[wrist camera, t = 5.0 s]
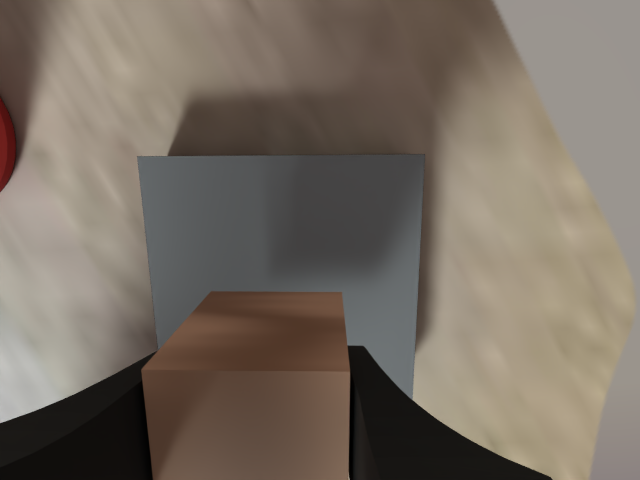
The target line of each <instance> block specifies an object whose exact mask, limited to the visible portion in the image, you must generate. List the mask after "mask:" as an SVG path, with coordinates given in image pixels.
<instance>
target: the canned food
mask: <svg viewBox="0 0 640 480" xmlns="http://www.w3.org/2000/svg"><path fill="white" fill-rule="evenodd" d="M15 156H16V140H15V134H14V127H13V124H12V121H11V118H10V115H9V112H8V111H7V109H6V107H5V105H4V103H3V101H2V99H1V98H0V192H1V190H2V189H3V188H4V186H5V185H6V184H7V182H8V180H9V177H10V175H11V173H12V170H13V166H14V162H15Z"/></svg>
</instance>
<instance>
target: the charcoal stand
mask: <svg viewBox="0 0 640 480" xmlns="http://www.w3.org/2000/svg"><path fill="white" fill-rule="evenodd" d="M137 159H138V168H139V178H140V187H141V196H142V206H143V215H144V224H145V234H146V243H147V252H148V261H149V271H150V280H151V289H152V299H153V308H154V317H155V327H156V336H157V345H158V350H159V349H160V348H161V347H162V346H163V345H164V343H165V342H166V341H167V340H168V339H169V338H170V337H171V336H172V334H173V333H174V332H175V331H176V330H177V329H178V328H179V327H180V325H181V324H182V323H183V322H184V321H185V320H186V319H187V318H188V316H189V315H190V314H191V313H192V312H193V311H194V310H195V309H196V307H197V306H198V305H199V304H200V303H201V302H202V301H203V300H204V298H205V297H206V296H207V295H208V294H209V293H210V292H211V291H253V292H342V298H343V308H344V317H345V327H346V337H347V345H350V346H364V347H365V348H366V349H367V350H368V352H369V353H370V354H371V356H372V357H373V358H374V360H375V361H376V362H377V363H378V365H379V366H380V367H381V368H382V369H383V371H384V372H385V373H386V374H387V375H388V376H389V377H390V378H391V380H392V381H393V382H394V383H395V384H396V385H397V386H398V387H399V388H400V389H401V390H402V391H403V392H404V393H405V394H406V395H407V396H408V397H409V398H411V399H412V398H413V378H414V359H415V339H416V320H417V300H418V280H419V261H420V241H421V222H422V202H423V183H424V163H425V154H404V155H261V156H137Z"/></svg>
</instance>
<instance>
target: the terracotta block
mask: <svg viewBox="0 0 640 480" xmlns="http://www.w3.org/2000/svg"><path fill="white" fill-rule="evenodd" d="M141 372H142V382H143V391H144V400H145V409H146V419H147V428H148V437H149V446H150V455H151V465H152V474H153V480H348V472H349V411H350V366H349V356H348V346H347V337H346V327H345V317H344V308H343V298H342V292H253V291H211V292H210V293H209V294H208V295H207V296H206V297H205V298H204V300H203V301H202V302H201V303H200V304H199V305H198V306H197V307H196V309H195V310H194V311H193V312H192V313H191V314H190V315H189V316H188V318H187V319H186V320H185V321H184V322H183V323H182V324H181V325H180V327H179V328H178V329H177V330H176V331H175V332H174V333H173V334H172V336H171V337H170V338H169V339H168V340H167V341H166V342H165V343H164V345H163V346H162V347H161V348H160V349H159V350H158V351H157V352H156V354H155V355H154V356H153V357H152V358H151V359H150V360H149V361H148V363H147V364H146V365H145V366H144V367H143V368H142V369H141Z"/></svg>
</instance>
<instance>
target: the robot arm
mask: <svg viewBox="0 0 640 480" xmlns="http://www.w3.org/2000/svg"><path fill="white" fill-rule="evenodd" d="M347 346H348V356H349V366H350V411H349V478H350V480H552V479H551V477H549V476H547V475H544V474H542V473H539V472H537V471H535V470H532V469H530V468H527V467H525V466H523V465H520V464H518V463H515V462H513V461H511V460H508V459H506V458H504V457H502V456H500V455H498V454H496V453H494V452H492V451H490V450H488V449H486V448H484V447H482V446H480V445H478V444H476V443H474V442H473V441H471V440H469V439H467V438H465V437H464V436H462V435H460V434H459V433H457V432H456V431H454V430H453V429H451V428H449V427H448V426H446V425H445V424H443V423H442V422H440V421H439V420H437V419H436V418H434V417H433V416H432V415H430V414H429V413H428V412H427V411H425V410H424V409H423V408H421V407H420V406H419V405H418V404H416V403H415V402H414V401H413V400H412V399H411V398H409V397H408V396H407V395H406V394H405V393H404V392H403V391H402V390H401V389H400V388H399V387H398V386H397V385H396V384H395V383H394V382H393V381H392V380H391V378H390V377H389V376H388V375H387V374H386V373H385V372H384V371H383V369H382V368H381V367H380V366H379V365H378V363H377V362H376V361H375V360H374V358H373V357H372V356H371V354H370V353H369V352H368V350H367V349H366V348H365V347H364V346H350V345H347ZM156 352H157V351H156ZM156 352H154V353H152V354H151V355H149V356H147V357H145V358H143V359H141V360H140V361H138V362H136V363H134V364H132V365H131V366H129V367H127V368H125V369H123V370H121V371H120V372H118V373H116V374H114V375H112V376H110V377H108V378H106V379H104V380H102V381H100V382H98V383H96V384H94V385H92V386H90V387H88V388H86V389H84V390H82V391H80V392H78V393H76V394H74V395H72V396H69V397H67V398H65V399H63V400H60V401H58V402H56V403H53V404H51V405H48V406H46V407H44V408H41V409H39V410H36V411H34V412H31V413H28V414H25V415H23V416H20V417H17V418H14V419H11V420H8V421H6V422H3V423H0V480H153V474H152V465H151V455H150V446H149V437H148V428H147V419H146V409H145V400H144V391H143V382H142V372H141V369H142V368H143V367H144V366H145V365H146V364H147V363H148V361H149V360H150V359H151V358H152V357H153V356H154V355H155V354H156Z"/></svg>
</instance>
